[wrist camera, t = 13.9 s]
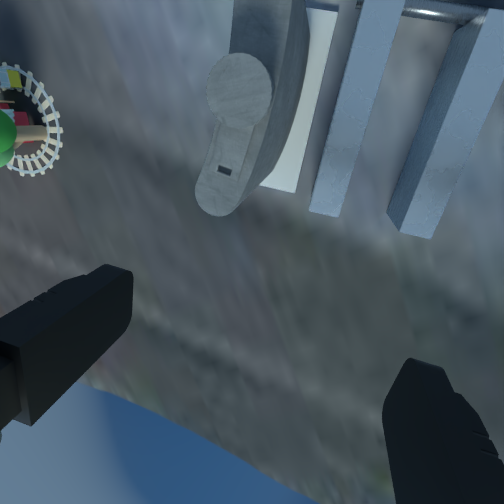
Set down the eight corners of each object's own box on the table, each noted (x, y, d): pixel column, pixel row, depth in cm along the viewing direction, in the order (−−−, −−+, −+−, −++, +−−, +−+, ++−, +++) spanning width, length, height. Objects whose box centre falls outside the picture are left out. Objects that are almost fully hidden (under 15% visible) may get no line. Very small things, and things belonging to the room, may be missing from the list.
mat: (337, 14, 31) (338, 12, 30) (295, 192, 38) (294, 193, 38) (259, 2, 32) (258, -1, 31) (232, 177, 39) (231, 178, 39)
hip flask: (283, 15, 31) (228, -128, 13) (323, 25, 31) (321, -109, 13) (246, 171, 38) (176, 218, 20) (278, 181, 38) (236, 238, 20)
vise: (506, 21, 28) (558, -8, 22) (421, 220, 37) (441, 241, 30) (357, -1, 30) (366, -34, 24) (307, 194, 38) (303, 209, 32)
